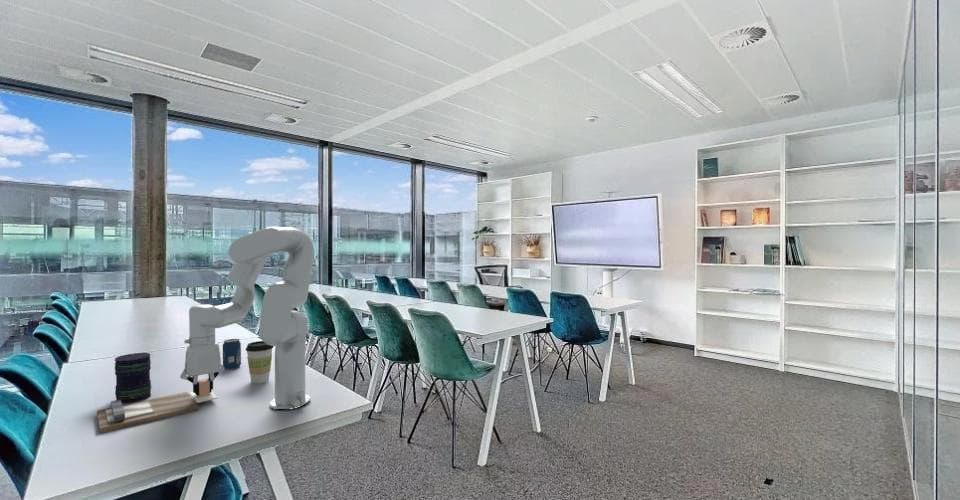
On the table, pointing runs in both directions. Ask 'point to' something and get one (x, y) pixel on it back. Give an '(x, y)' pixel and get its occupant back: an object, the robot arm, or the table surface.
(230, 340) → the soda can
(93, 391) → the table surface
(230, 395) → the table surface
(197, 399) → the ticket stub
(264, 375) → the coffee cup
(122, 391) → the storage jar
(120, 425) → the board
